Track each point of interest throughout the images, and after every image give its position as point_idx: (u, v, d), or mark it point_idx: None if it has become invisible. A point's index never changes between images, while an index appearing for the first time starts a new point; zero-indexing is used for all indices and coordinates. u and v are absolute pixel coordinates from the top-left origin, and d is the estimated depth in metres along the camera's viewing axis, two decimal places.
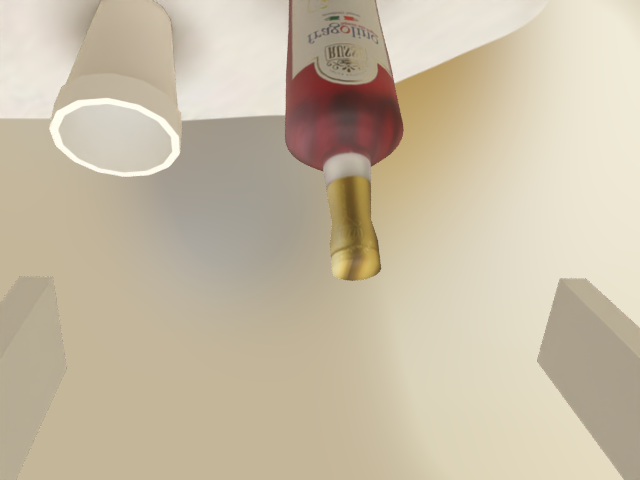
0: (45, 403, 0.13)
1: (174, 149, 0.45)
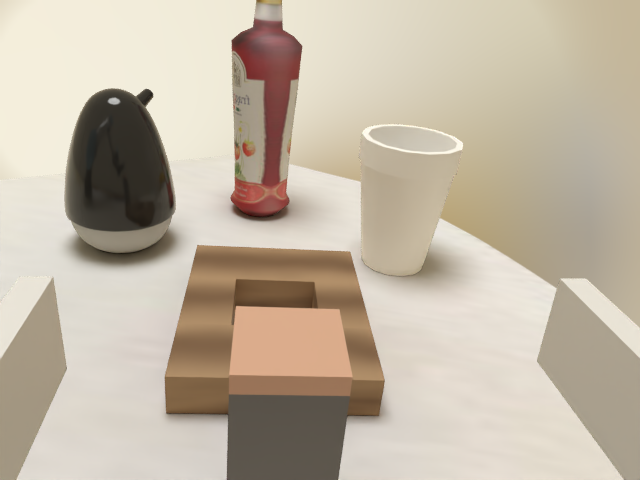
0: (45, 403, 0.13)
1: (395, 125, 0.57)
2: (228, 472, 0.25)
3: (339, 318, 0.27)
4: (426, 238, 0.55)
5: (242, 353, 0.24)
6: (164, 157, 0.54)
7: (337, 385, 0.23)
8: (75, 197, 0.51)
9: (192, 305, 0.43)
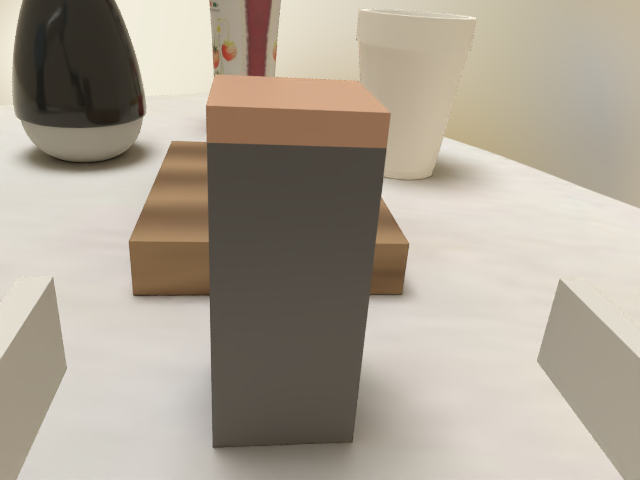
0: (45, 403, 0.13)
1: None
2: (211, 285, 0.17)
3: (360, 84, 0.19)
4: (437, 132, 0.47)
5: (225, 95, 0.16)
6: (130, 45, 0.46)
7: (369, 127, 0.16)
8: (24, 87, 0.43)
9: (164, 184, 0.35)
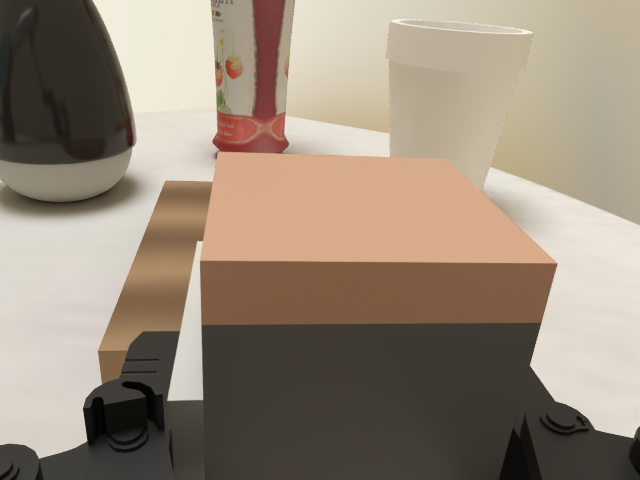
0: None
1: (431, 20, 0.42)
2: None
3: (455, 170, 0.12)
4: (482, 167, 0.40)
5: (237, 219, 0.09)
6: (116, 63, 0.38)
7: (513, 290, 0.08)
8: None
9: (153, 248, 0.27)
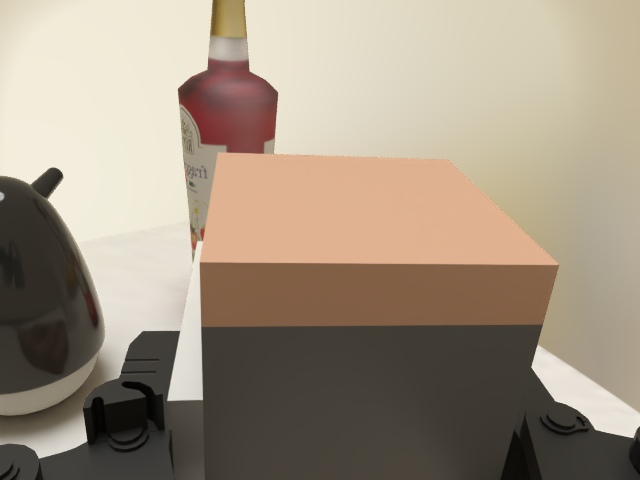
0: None
1: None
2: None
3: (456, 170, 0.12)
4: None
5: (237, 220, 0.09)
6: (80, 271, 0.36)
7: (515, 292, 0.08)
8: None
9: None
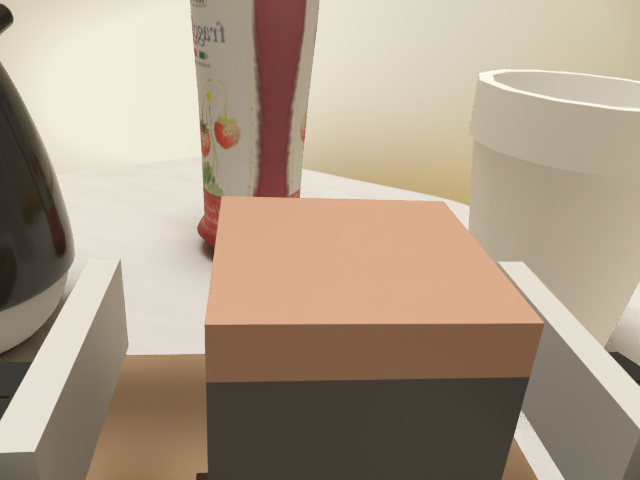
0: (115, 375, 0.14)
1: (531, 71, 0.27)
2: None
3: (450, 214, 0.12)
4: (622, 310, 0.25)
5: (240, 276, 0.09)
6: (32, 149, 0.23)
7: (503, 347, 0.09)
8: None
9: None
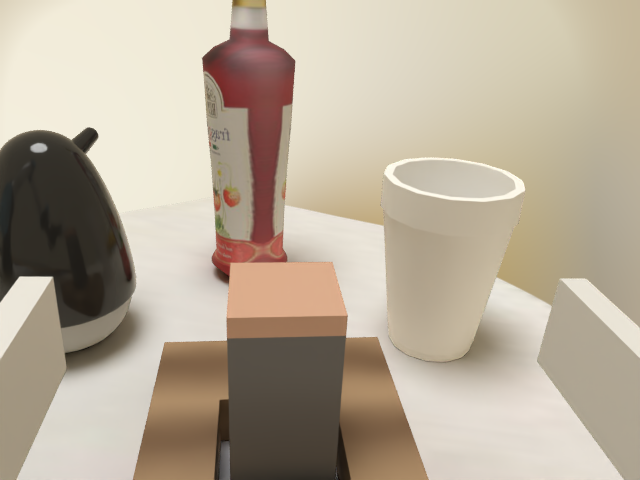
0: (45, 403, 0.13)
1: (425, 159, 0.43)
2: (230, 422, 0.26)
3: (332, 269, 0.28)
4: (478, 311, 0.40)
5: (238, 300, 0.25)
6: (115, 220, 0.39)
7: (333, 324, 0.24)
8: None
9: (152, 457, 0.28)
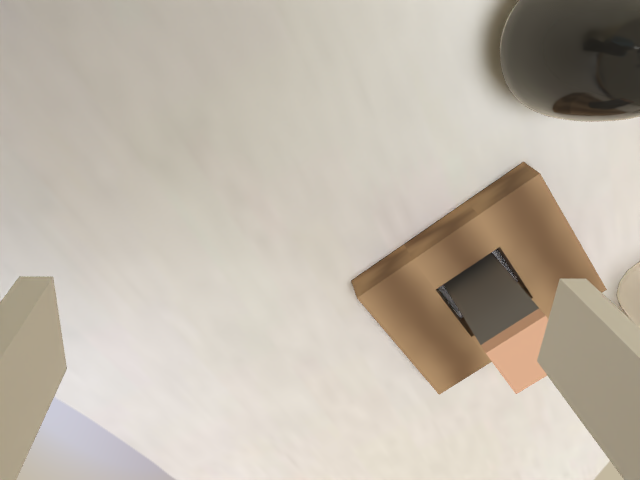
0: (45, 403, 0.13)
1: None
2: (461, 313, 0.46)
3: None
4: None
5: (505, 347, 0.41)
6: None
7: None
8: (519, 48, 0.38)
9: (441, 249, 0.48)
